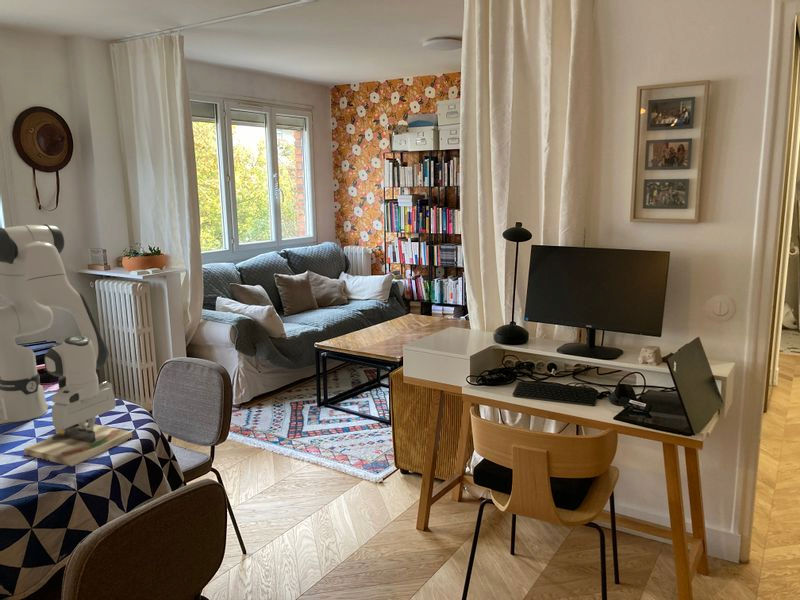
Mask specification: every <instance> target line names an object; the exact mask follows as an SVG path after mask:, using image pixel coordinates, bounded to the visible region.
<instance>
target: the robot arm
mask: <svg viewBox="0 0 800 600" xmlns="http://www.w3.org/2000/svg"><path fill="white" fill-rule="evenodd" d="M64 248H65V237H64V234H63V232H62V231H61V229H60V228H59V227H57V226H56V225H53V224H42V225H41V224H22V225H16V226H9V227H4V228H3V227H0V298H2V299H5V300H9V301H11V303H10V304H9V305H5V306H0V425H2V424H8V423H15V422H17V423H18V422H23V421H29V420H33V419H36V418H39V417H41V416H43V415H45V414H46V413H48V408H49V407H50V403H48V402H47V400H46V397H45V396H46V395H45V391H44V387H43V385H41V380H40V378H41V377H40V373H39V372H38V367H37V362H36V361H37V359H36V354H35V352H34V351H33V350H32V349H31V348H29V347H26V346H23V345H18V344H17V343H16V338H19V337H24V336H28V335H29V336H30V335H33V334H37V333H40V332H43V331H45V330H48V329H50V328H51V326H52V325H53V322H54V312H53V311H52V309H51V308H54V309H58V310H63V311H66V312H68V313H69V314H71V316H73V318H74V320H75V322H76V325H77V327H78V330H79V332H80V334H81V335H76V336H75V335H74V336H70V337H67V338H65V339H64V340H63V341H62V343H61V344H58V345H55V346H53V347H50V348H48V349H47V351H45V352H46V353H45V354H44V357H43V363H44V368H45V370H46V372H47V373H48V374H50V375H51V376H54V377H56V378H57V377H58V378H59V377H60V376H65V377H66V386H64V387H63V388H62V389H61V390H60V391H59V390H58V391H57V392H55V393H54V394H53V395H52V396H51V401H52V403H54V404H53V405H52V408H51V418H52V419H51V420H52V426H53V427H54V429H55V428H57V429H66V428H69V427H71V426H73V425H76V424H78V425H79V426H80V427H81V428H82V429H86V430H90V431H93V425H94V424H96V423H95V422H96V421H97V420H96V417H98V416H100V415H102V414H105V413H108V412H110V411H112V410H115V408H116V405H117V404H116V403H117V402H116V397H115V394H114V393H115V392H114V390H113V384H112V383H111V382H108V381H103V382H101V384H99V382H98V376H97V374H96V369H100V370H101V369H102V368H103V367H104V366H105V365H106V363H107V362H108V359H109V357H110V352H109V348H108V346H107V344H106V341H104V338H102V336H101V334H100V331H99V329H98V327H97V324H96V322H95V320H94V317H93V314H92V313H91V310H90V308H89V305H88V303H87V301H86V299H85V297H84V295H83V294H82V293H81V291H79V290H76V289H75V288H74V287H73V285H71V283H70V281H69V278H68V276H67V273H66V269H65V265H64V262H63V260H62V258H61V253H62V252H63V250H64ZM86 420H89V421H88V425H87V426H86V425H85V424H86V423H87V421H86Z"/></svg>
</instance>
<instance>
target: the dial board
mask: <svg viewBox="0 0 800 600" xmlns="http://www.w3.org/2000/svg"><path fill="white" fill-rule="evenodd" d="M85 425H86V426H87V425H88V423H86V424H85ZM76 428H81V427H80V426H77V427H76ZM81 429H82V428H81ZM93 431H95V439H96V441H94V442H92V443H90V442H86V441H81V440H77V439H72V438H68V437H62V438H58V437H56V434H54V435H53V436H50V437H48V438H46V439H43V440H41V441H38V442H36V443H33V444H32V445H29V446H27V447H24V448H23V450H24V451H23V452H24V455H25V456H28V455H29V456H28V457H33V458H37V459H40V458H41V460H44V459H45V461H48V460H49V461H48V462H53V463H56V464H57V463H58V464H62V465H65V466H69V467H74V466H75V465H78V464H80V463H82V462H84V461H86V460H89V459H90V458H92V457H95V456H97V455H100V454H101V453H103V452H105V451H107V450H109V449H111V448H114V447H116V446H117V445H120V444H122V443H124V442H126V441H128V439H129V440H130V438H131V439H132V437H133V431H131V430H126V429H122V428H121V429H120V428H115V427H111V426H106V425H102V424H96V423H94V425H93Z"/></svg>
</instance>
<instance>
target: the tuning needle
mask: <svg viewBox="0 0 800 600" xmlns="http://www.w3.org/2000/svg"><path fill="white" fill-rule="evenodd" d="M54 430H55V435H56V437H58V438H62V437H68V438H72V439H77V440H81V441H86V442H90V443H92V442H94V441H96V439H95V431H90V430H86V429H81V428H76V427H72V426H71V427H69V428H66V429H57V428H55V427H54Z"/></svg>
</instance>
